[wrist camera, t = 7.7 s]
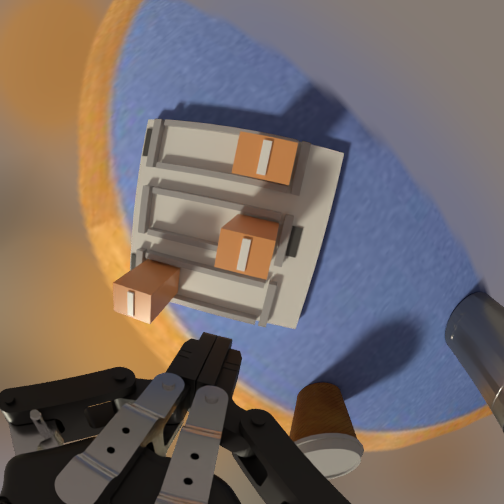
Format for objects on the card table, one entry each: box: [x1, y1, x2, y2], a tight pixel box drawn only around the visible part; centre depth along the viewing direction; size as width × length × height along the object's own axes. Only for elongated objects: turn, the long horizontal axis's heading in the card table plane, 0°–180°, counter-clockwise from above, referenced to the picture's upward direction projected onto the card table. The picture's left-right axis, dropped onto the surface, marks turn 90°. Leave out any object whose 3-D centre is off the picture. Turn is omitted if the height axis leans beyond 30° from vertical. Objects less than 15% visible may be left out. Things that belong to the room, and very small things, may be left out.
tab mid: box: [214, 214, 279, 280], centre depth 23 cm, size 4×3×7 cm
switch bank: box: [130, 119, 344, 329], centre depth 27 cm, size 20×19×2 cm
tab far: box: [113, 259, 180, 324], centre depth 26 cm, size 4×3×7 cm
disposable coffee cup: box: [289, 383, 364, 480], centre depth 28 cm, size 10×10×12 cm
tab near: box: [232, 131, 298, 185], centre depth 21 cm, size 4×3×7 cm
